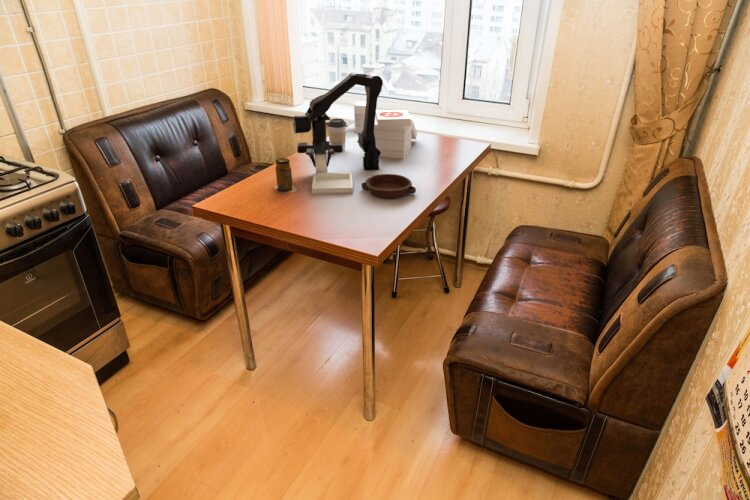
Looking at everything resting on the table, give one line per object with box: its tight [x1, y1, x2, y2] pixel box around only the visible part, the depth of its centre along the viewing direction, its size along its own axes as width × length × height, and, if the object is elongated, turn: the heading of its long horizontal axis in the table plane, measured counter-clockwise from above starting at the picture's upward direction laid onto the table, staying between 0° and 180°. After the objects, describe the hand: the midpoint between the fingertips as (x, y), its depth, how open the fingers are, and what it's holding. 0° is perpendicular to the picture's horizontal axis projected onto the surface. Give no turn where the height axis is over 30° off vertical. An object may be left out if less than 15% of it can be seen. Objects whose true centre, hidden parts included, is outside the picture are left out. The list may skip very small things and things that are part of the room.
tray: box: [311, 172, 354, 195], centre depth 195 cm, size 16×16×2 cm
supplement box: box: [353, 100, 366, 134], centre depth 257 cm, size 9×9×15 cm
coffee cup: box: [327, 118, 347, 154], centre depth 230 cm, size 9×9×15 cm
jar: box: [314, 151, 328, 173], centre depth 205 cm, size 5×5×10 cm
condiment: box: [273, 157, 298, 195], centre depth 190 cm, size 7×8×12 cm
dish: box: [361, 173, 417, 200], centre depth 189 cm, size 18×22×5 cm
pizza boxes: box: [374, 109, 418, 160], centre depth 232 cm, size 19×30×18 cm, turn 163°
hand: (321, 166), depth 206 cm, fingers closed on jar, 5 cm apart
